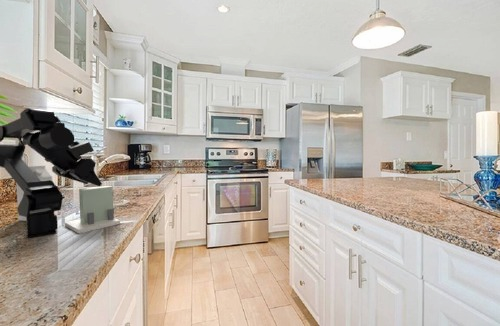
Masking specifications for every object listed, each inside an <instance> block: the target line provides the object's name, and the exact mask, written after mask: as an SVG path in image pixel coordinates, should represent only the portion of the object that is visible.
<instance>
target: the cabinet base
mask: <svg viewBox="0 0 500 326" xmlns="http://www.w3.org/2000/svg"><path fill="white" fill-rule="evenodd" d="M114 214H115V208H114V209H108V219H107V220H102V221H97V222H94V213H93V212H92V213H87V217H88V224H82V223H80V218H79V219H76V220H75V219H74V220H70V221H65V222H64V226H65V227H66V228H67V229H70V230H72V231H74V232H75V233H77V234H78V233H79V234H82V233H81V232H83V233H87V231H88V232H91V230H92V231H96V230H99V229H103V228H109V227H112V226H116V225H121V220H120V219H117V218H115V215H114Z"/></svg>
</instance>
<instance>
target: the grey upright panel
mask: <svg viewBox="0 0 500 326" xmlns="http://www.w3.org/2000/svg"><path fill="white" fill-rule="evenodd" d="M78 194H79V195H78V196H79V197H78V199H79V215H80V216H79V219H80V223H82V224H88V217H87V213H92V212H93V213H94V222H97V221H102V220H107V219H108V209H114V210H115V207H114V189H113V186H111V185H106V186H105V185H104V186H94V187H87V188H86V187H85V188H79V190H78Z"/></svg>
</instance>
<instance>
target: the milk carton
mask: <svg viewBox="0 0 500 326" xmlns="http://www.w3.org/2000/svg"><path fill="white" fill-rule="evenodd" d="M28 167H29V168H30V169H31V170H32V171H33V172H34V173H35V174H36V176H37V177H38V178H39V179H40V180H41V181H46V180H51V181H53V176H52V174H51V173H50V172H49V171H48V170H47V169H46V165H32V166H28ZM15 183H16V182H15ZM23 194H24V191H23V190H22V189H21V188H20V187H19V185H18V184H17V183H16V198H17V201H16V202H17V207H18V206H19V204H20V202H21V200H22V198H23ZM17 217H18V221H24V222H27V219H26V217H24V216H20V215H19V213H18V212H17Z"/></svg>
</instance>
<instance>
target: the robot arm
mask: <svg viewBox="0 0 500 326" xmlns="http://www.w3.org/2000/svg"><path fill="white" fill-rule="evenodd" d="M19 115H20V118H18V119H15V120H12V121H10V122H8V123H6V124H2V125H0V168H4V170H5V171H6V172H7V174H9V176H10V177H11V178H12V179H13V180H14V182H15V183H17V184H18V185H19V187H20V188H21V189H22V190H23V191H24V194H23V198H22V200H21V202H20V204H19V206H18V205H17V214H18V213H19V215H20V216H24V217H26V219H27V221H26V238H27V239H29V238H34V237H40V236H41V237H42V236H46V235H51V234H56V233H57V230H58V228H59V227H58V216H57V214H55V212H57V211H61V210H62V204H63V198H64V197H63V196H64V195H63V193H62V192H61V191H60V189H59V186H57V185H56V184H55V183H54V181H53V180H52V181H51V180H46V181H41V180H40V179H39V178H38V177H37V176H36V174H35V173H34V172H33V171H32V170H31V169H30V168H29V167H30V166H29V165H28V164H27V163H26V162H25V160H23V156H24V153H25V151H26V150H25V149H26V145H27V146H28V147H30V148H31V149H32V150H33V151H34V152H36V153H37V154H39V155H40V156H41V157H42V158H44V161H45V162H47V163H50V164H51V165H53V166H52V168H51V170H52V171H51V172H53V173H54V174H55V175H56V176H59V177H62V178H65V179H69V180H73V181H75V182H78V183H82V184H84V185H88V184H91V185H95V186H96V187H102V184H103V183H102V181H101V180H100V178H99V177H98V176H97V173H96V172H95V168H96V163H97V162H95V160H93V159H92V158H86V157H85V158H82V156H83V155H86V154H88V153H92V152H94V148H93V146H92V144H91V142H90V141H83V142H79V141H78V140H77V141H76V140H75V135H74V134H73V132H72V131H71V130H70V129H69V128H67V127H66V126H65V125H66V124H65V123H64V122H61V120H60V118H59V117H58V116H57V114H55V111H53V110H47V109H37V108H30V107H27V108H24V110H22V111H21V112H20V113H19ZM4 139H17V140H18V144H4V143H3V144H1V142H3V140H4ZM17 184H16V185H17Z"/></svg>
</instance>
